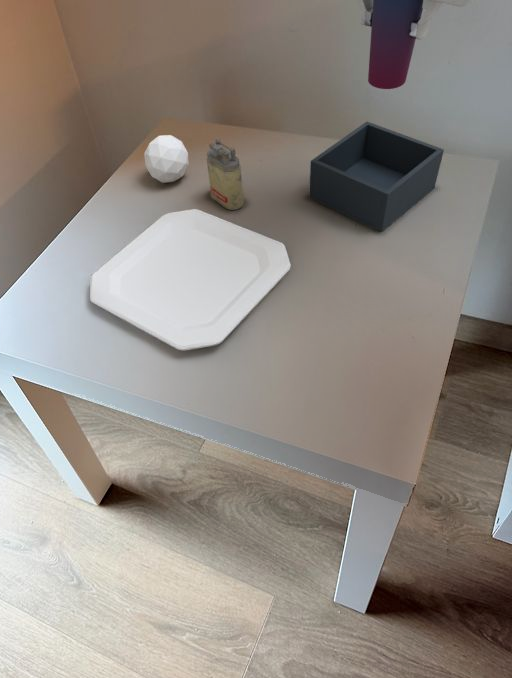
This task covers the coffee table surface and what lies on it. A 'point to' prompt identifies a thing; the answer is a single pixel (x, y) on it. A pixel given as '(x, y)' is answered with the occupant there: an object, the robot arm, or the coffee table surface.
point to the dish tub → (374, 175)
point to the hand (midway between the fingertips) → (392, 30)
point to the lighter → (225, 176)
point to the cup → (392, 41)
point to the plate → (189, 278)
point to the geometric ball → (166, 158)
